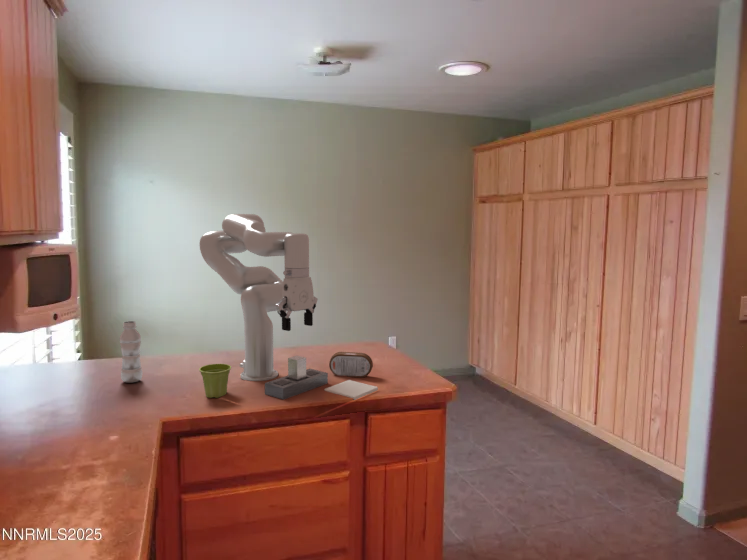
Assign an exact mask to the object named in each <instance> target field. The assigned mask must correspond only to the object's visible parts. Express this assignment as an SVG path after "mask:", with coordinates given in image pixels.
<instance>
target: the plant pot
mask: <svg viewBox="0 0 747 560" xmlns="http://www.w3.org/2000/svg"><path fill="white" fill-rule="evenodd" d="M231 370H232V365H230V364H227V363H211V364H206V365H203V366H201V367H199V368H198V371H199V372H200V375H201V376H202V380H203V381H202V384H203V388H204V394H205V396H206V398H209V399H212V398H216V399H219V398H221V397H222V396H225V395H226V394H227V391H228V382H229V374H230V371H231Z"/></svg>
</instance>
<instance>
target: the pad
mask: <svg viewBox="0 0 747 560" xmlns="http://www.w3.org/2000/svg"><path fill="white" fill-rule="evenodd" d="M378 390H379V387H378V386H376V385H371V384H367V383H363V382H360V381H355V380H351V379H347V380H345V381H343V382H339V383H336V384H334V385H331V386H329V387H326V388H324V392H327V393H331V394H334V395H335V394H336V395H338V396H339V395H340V396H343V397H347V398H349V399H352V400H353V401H355V400H358V399H360V398H361V399H362V398H363V397H366V396H367V395H370V394H372V393H375V392H376V391H378Z"/></svg>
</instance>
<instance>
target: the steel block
mask: <svg viewBox="0 0 747 560" xmlns="http://www.w3.org/2000/svg"><path fill="white" fill-rule="evenodd" d="M287 370H288V371H287V373H288V374H287V376H288V379H289V380H293V381H297V382H298V381H301V380H304V379H306V370H307V357H306V356H301V355H294V356H291V357H288V358H287Z"/></svg>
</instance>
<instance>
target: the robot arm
mask: <svg viewBox="0 0 747 560" xmlns="http://www.w3.org/2000/svg"><path fill="white" fill-rule="evenodd" d="M221 228H222V230H211V231H208V232H205V233H204V234H203V235H202V236H201V237H200V239H199V250H200V251H199V252H200V254H201V256H202V259H203V260H204V262H205V263H206V265H208V266H209V268H211V270H212V271H214V272H216V274H218V275H219V276H220V278H221V279H222V280H224V282H225V283H226V284H227V285H228V286H229V288H230V289H231V290H232V291H233V292H235V293H236V294H238V295H240V304H241V308H242V314H243V326H244V360H242V362H241V363H239V367H240V368H243V372H241V373H240V379H241V380H244V381H248V382H249V381H250V382H265V381H269V380H270V381H271V380H274V379H277V377H278V375H279V372H278V370H277V369H274V324H273V322H272V319H271V318H270V317H269V315H268V313H270V312H276V311H277V314H278V315H279V317H280V318H281V330H282V331H287V332H290V331H291V330H292V329H291V328H292V327H291V325H292V324H291V322H292V321H291V317H290V316H291V314H292V312H299V311H304V313H303V324H304V325H305V326H309V327H313V325H314V324H313V322H314V319H313V316H314V313H315V310H316V307H317V302H318V300H319V299H318V298H317V297H316V296H314V285H313V281H312V277H310V239H309V235H308V234H307V233H302V232H301V233H299V232H298V233H297V232H295V233H294V232H291V231H272V232H271V231H270V232H269V231H268V232H266V227H265V223H264V220H263V219H262V218H261V217H260V216H259V215H257V214H254V213H234V214H233V213H232V214H228V215H227V216H226V217H225V218H224V219H223V220H222V223H221ZM246 251H248V252H250V253H251V254H254V255H257V256H259V257H260V256H261V257H264V258H266V257H283V259H284V270H283V275H284V278H283V280H282V279H281V278H280V277H279V276H278V275H277V274H276V273H275V272H274V271H273V270H272V269H271V268H269V267H266V266H262V265H261V266H258V265H257V266H246V265H244V264H243V263H242V261H240V260H239V259H238V258H237V257H235V256H233V255H231V254H240V253H241V254H242V253H245V252H246Z"/></svg>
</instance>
